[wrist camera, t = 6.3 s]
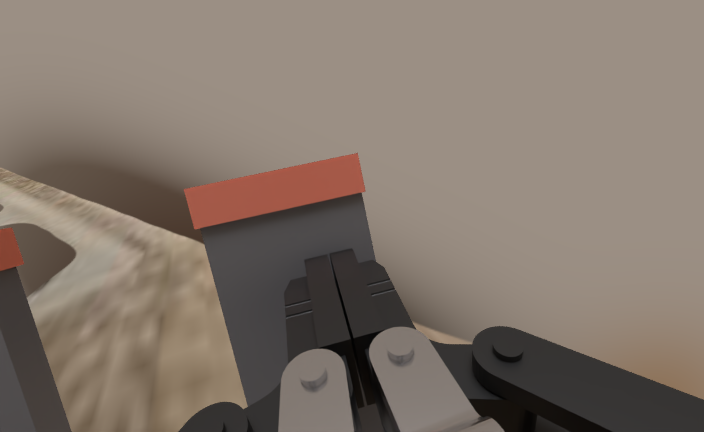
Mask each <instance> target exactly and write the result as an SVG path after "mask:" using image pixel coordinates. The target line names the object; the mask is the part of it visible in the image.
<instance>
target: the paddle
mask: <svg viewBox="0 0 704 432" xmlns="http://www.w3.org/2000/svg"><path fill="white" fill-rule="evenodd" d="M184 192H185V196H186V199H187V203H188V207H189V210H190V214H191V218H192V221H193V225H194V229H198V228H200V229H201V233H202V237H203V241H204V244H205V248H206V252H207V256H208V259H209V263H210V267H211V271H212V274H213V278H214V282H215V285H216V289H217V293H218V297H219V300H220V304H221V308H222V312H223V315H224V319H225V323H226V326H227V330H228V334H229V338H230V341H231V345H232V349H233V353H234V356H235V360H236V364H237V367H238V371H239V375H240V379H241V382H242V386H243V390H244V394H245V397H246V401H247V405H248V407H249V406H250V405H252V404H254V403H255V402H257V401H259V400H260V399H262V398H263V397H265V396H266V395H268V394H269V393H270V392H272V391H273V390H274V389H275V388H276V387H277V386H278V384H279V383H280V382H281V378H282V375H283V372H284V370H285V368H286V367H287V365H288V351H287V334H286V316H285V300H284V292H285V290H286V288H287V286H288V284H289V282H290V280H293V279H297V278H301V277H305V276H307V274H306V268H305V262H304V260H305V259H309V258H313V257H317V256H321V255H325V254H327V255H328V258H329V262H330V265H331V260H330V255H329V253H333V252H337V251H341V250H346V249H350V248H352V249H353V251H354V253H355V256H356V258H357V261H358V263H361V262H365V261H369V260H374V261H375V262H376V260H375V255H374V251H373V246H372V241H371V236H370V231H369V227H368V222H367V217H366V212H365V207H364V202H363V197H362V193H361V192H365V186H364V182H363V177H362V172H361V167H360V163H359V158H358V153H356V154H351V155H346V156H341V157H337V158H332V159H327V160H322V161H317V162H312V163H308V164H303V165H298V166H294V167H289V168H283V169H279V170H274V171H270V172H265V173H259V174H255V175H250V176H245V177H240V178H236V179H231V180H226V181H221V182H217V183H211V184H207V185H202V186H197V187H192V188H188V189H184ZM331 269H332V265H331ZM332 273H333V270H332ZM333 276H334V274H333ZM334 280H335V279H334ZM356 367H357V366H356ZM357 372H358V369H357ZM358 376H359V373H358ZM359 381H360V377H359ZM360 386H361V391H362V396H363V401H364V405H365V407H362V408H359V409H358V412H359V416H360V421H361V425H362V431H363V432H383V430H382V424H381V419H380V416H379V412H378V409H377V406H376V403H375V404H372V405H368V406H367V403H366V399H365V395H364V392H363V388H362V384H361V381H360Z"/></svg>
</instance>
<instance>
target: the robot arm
mask: <svg viewBox="0 0 704 432" xmlns="http://www.w3.org/2000/svg"><path fill="white" fill-rule="evenodd" d="M329 255H330V260H331V265H332V269H331V265H330V262H329V258H328V255H327V254H325V255H321V256H317V257H313V258H309V259H305V260H304V262H305V268H306V274H307V276H305V277H301V278H297V279H293V280H290V282H289V284H288V286H287V288H286V290H285V292H284V300H285V316H286V334H287V351H288V365H287V367H286V368H285V370H284V372H283V375H282V378H281V382H280V383H279V384H278V386H277V387H276V388H275V389H274V390H273V391H272V392H270V393H269V394H268V395H266V396H265V397H263V398H262V399H260V400H259V401H257V402H255V403H254V404H252V405H250V406H249V407H247V408H245V409H244V410H243V409H242V408H241V407H240V406H239V405H237V404H235V403H232V402H220V403H215V404H212V405H210V406H208V407H206V408H204V409H202V410H200V411H199V412H198V413H196V414H195V415H194V416H193V417H191V418H190V419H189V420H188V421H187V423H186V424H185V425H184V426H183V427H182V428H181V429H180V431H179V432H363V431H362V425H361V421H360V416H359V412H358V409H359V408H362V407H365V405H364V401H363V396H362V391H361V386H360V381H361V384H362V388H363V392H364V395H365V399H366V403H367V406H368V405H372V404H375V403H376V406H377V409H378V412H379V416H380V419H381V424H382V430H383V432H704V400H703V399H700V398H697V397H695V396H692V395H689V394H687V393H684V392H681V391H679V390H676V389H673V388H671V387H668V386H666V385H663V384H660V383H657V382H655V381H653V380H650V379H647V378H645V377H642V376H639V375H637V374H634V373H631V372H629V371H626V370H623V369H621V368H618V367H616V366H613V365H610V364H607V363H605V362H602V361H600V360H597V359H595V358H592V357H589V356H586V355H584V354H581V353H579V352H576V351H573V350H571V349H568V348H565V347H563V346H560V345H557V344H555V343H552V342H550V341H547V340H544V339H542V338H539V337H536V336H534V335H531V334H529V333H526V332H523V331H521V330H518V329H515V328H510V327H503V326H497V327H490V328H487V329H485V330H483V331H481V332H480V333H479V334H477V336H476V337H475V338H474V340H473V344H472V345H471V344H442V343H438V342H434V341H432V340H430V339H428V338H427V337H426V336H425V335H424V334H423V333H421V332H420V331H418V330H416V328H415V327H414V325H413V323H412V321H411V319H410V317H409V315H408V313H407V311H406V309H405V307H404V305H403V303H402V302H401V299H400V297H399V295H398V294H397V292H396V290H395V288H394V286H393V284H392V282H391V281H390V278H389V276H388V274H387V272H386V270H385V268H384V267H383V266H381V265H380V264H378V263H377V262H375V261H374V260H369V261H365V262H361V263H358V261H357V258H356V256H355V253H354V251H353V249H352V248H350V249H346V250H341V251H337V252H333V253H329ZM332 270H333V273H332ZM333 274H334V276H333ZM334 279H335V280H334ZM356 366H357V367H356ZM357 369H358V372H357ZM358 373H359V376H358ZM359 377H360V381H359Z"/></svg>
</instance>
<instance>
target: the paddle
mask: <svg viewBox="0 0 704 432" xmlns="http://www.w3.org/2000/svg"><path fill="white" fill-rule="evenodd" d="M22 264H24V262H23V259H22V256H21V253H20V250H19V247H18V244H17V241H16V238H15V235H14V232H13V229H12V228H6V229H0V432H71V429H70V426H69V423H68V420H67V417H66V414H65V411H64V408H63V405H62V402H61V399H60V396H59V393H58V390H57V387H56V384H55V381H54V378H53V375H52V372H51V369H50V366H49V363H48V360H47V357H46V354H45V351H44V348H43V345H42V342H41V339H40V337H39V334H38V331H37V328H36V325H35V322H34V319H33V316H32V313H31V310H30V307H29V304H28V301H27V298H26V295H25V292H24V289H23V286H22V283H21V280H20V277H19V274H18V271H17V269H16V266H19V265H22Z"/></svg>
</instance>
